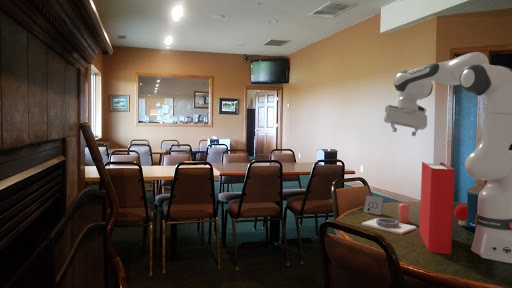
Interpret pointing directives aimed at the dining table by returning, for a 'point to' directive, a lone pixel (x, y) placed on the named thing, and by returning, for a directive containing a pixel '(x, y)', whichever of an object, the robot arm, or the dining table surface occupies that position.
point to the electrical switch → (373, 205)
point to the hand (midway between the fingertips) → (404, 133)
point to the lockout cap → (404, 213)
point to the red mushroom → (461, 213)
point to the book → (437, 207)
